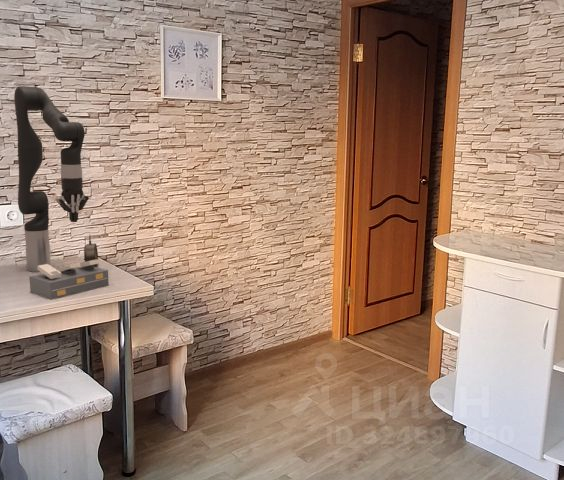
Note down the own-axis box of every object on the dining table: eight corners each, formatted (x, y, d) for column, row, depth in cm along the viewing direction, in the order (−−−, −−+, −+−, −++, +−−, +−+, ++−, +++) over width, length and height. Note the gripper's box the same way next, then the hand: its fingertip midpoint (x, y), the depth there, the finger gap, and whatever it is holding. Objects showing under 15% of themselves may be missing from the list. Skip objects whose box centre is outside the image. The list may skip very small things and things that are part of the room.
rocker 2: (58, 272, 220) (57, 267, 220) (68, 270, 223) (67, 265, 223) (71, 268, 214) (69, 263, 214) (80, 266, 217) (79, 261, 217)
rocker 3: (77, 267, 226) (76, 263, 226) (86, 265, 229) (85, 261, 229) (90, 265, 220) (89, 260, 220) (99, 263, 223) (98, 258, 223)
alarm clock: (97, 274, 240) (95, 236, 237) (83, 275, 239) (81, 236, 236) (99, 268, 251) (97, 231, 248) (86, 269, 250) (84, 231, 246)
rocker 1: (37, 269, 213) (37, 265, 213) (47, 267, 216) (47, 263, 216) (50, 279, 208) (51, 274, 208) (61, 276, 211) (61, 272, 211)
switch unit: (30, 292, 215) (29, 273, 213) (87, 279, 233) (86, 261, 232) (51, 299, 206) (50, 280, 205) (109, 285, 225) (108, 267, 223)
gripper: (81, 174, 226) (83, 218, 229) (49, 176, 215) (52, 222, 219) (92, 176, 221) (94, 221, 225) (61, 178, 211) (63, 225, 214)
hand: (73, 221), depth 222 cm, fingers closed
